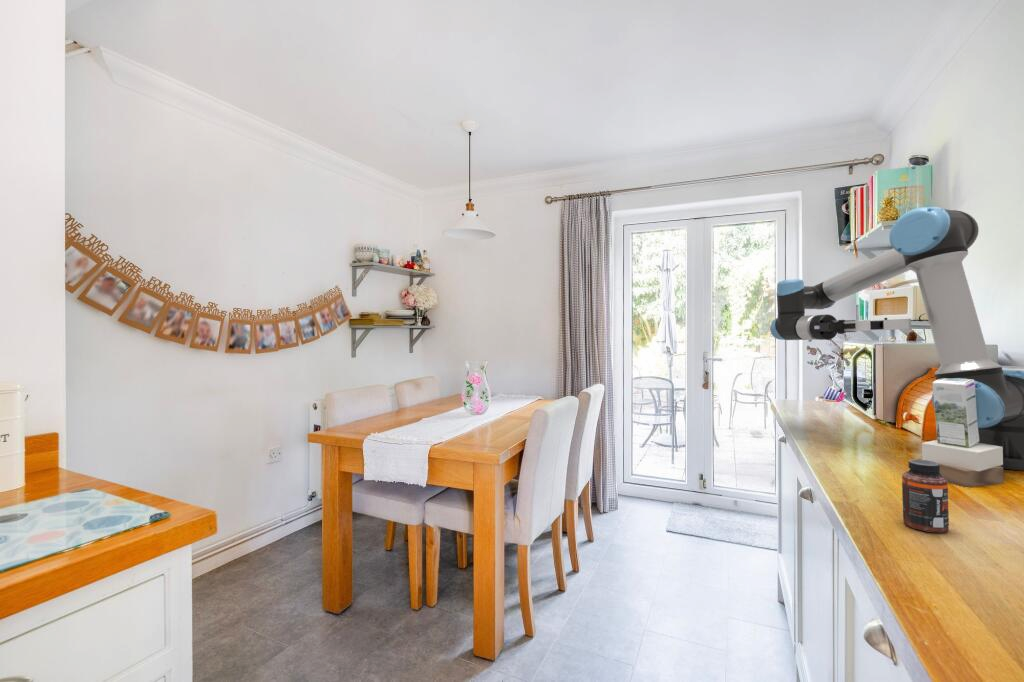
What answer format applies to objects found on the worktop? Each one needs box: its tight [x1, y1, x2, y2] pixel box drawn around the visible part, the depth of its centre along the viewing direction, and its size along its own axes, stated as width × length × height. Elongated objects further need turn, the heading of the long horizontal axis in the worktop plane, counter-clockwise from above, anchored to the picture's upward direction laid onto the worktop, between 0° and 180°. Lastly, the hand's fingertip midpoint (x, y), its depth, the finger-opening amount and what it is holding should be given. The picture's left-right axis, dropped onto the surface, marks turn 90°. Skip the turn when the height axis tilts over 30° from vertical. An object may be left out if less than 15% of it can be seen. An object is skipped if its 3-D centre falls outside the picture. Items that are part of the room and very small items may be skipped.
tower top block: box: [921, 439, 1003, 471], centre depth 105 cm, size 10×10×4 cm
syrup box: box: [932, 378, 979, 447], centre depth 105 cm, size 6×6×14 cm
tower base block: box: [916, 458, 1005, 488], centre depth 104 cm, size 10×10×4 cm
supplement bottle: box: [901, 459, 950, 534], centre depth 80 cm, size 6×6×11 cm
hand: (890, 324), depth 120 cm, fingers open, 13 cm apart
